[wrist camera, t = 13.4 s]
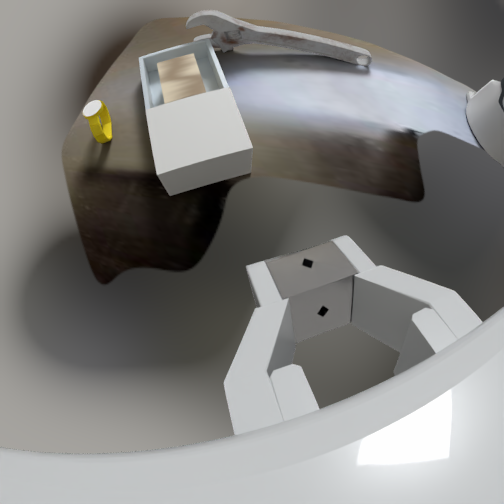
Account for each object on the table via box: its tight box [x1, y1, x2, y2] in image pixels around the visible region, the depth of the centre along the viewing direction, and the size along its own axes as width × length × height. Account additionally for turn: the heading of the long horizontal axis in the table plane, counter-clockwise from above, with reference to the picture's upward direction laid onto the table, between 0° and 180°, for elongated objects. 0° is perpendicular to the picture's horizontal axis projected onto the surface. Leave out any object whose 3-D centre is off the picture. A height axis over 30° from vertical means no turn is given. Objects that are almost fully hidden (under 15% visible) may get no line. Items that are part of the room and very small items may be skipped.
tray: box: [139, 39, 228, 110], centre depth 35 cm, size 11×13×4 cm
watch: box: [83, 100, 112, 144], centre depth 32 cm, size 6×3×6 cm, turn 15°
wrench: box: [186, 10, 372, 66], centre depth 36 cm, size 8×2×30 cm
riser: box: [146, 87, 253, 196], centre depth 32 cm, size 10×9×6 cm
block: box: [157, 53, 206, 104], centre depth 33 cm, size 5×5×8 cm
